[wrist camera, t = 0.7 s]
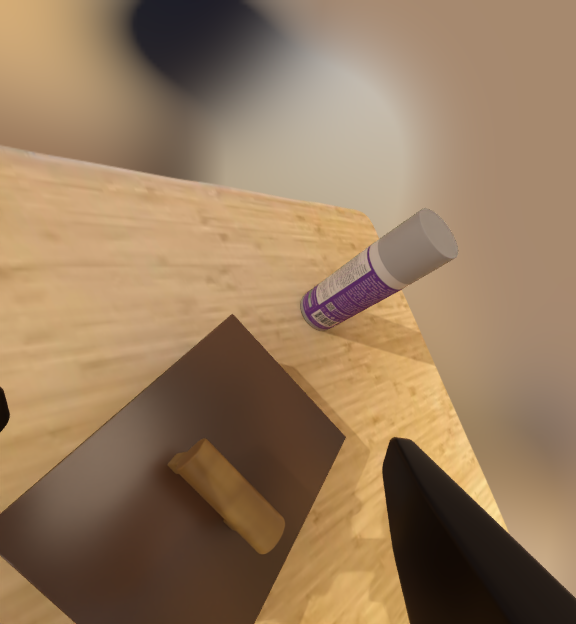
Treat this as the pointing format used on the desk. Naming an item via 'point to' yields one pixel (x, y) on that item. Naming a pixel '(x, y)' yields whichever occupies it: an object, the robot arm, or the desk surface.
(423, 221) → the container
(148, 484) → the box door
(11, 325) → the desk surface
